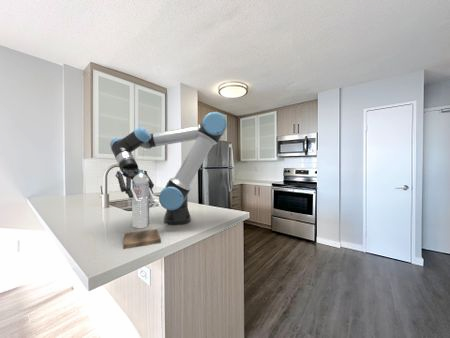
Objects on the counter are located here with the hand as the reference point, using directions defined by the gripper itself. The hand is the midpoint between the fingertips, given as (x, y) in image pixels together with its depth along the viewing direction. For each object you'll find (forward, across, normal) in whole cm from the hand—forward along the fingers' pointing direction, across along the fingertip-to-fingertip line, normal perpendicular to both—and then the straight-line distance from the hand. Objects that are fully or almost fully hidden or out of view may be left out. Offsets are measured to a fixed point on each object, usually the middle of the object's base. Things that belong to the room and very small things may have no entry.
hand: (144, 201), depth 81 cm
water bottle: (+6, 0, -11) cm, 12 cm away
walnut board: (+10, 0, -14) cm, 17 cm away
